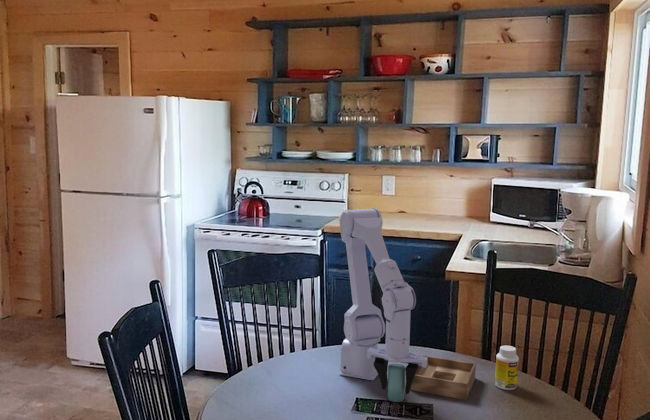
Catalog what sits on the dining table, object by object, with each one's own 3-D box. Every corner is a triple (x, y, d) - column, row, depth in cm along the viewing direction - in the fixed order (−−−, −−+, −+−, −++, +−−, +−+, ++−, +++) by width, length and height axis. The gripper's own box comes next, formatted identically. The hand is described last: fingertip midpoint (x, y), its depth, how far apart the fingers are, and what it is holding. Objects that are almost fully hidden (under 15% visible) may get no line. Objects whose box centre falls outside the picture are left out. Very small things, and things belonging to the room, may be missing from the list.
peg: (385, 400, 143) (386, 368, 142) (390, 393, 147) (391, 362, 146) (401, 403, 142) (402, 371, 140) (405, 396, 145) (406, 365, 144)
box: (410, 389, 149) (410, 374, 148) (422, 369, 162) (423, 355, 161) (466, 399, 144) (467, 384, 143) (475, 378, 156) (475, 363, 156)
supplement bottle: (507, 392, 148) (509, 353, 146) (489, 384, 152) (491, 346, 151) (521, 387, 151) (524, 349, 150) (504, 380, 155) (506, 342, 154)
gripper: (363, 337, 141) (362, 391, 143) (423, 346, 136) (421, 402, 137) (372, 328, 148) (371, 380, 149) (430, 336, 142) (428, 390, 144)
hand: (396, 390), depth 144 cm, fingers open, 5 cm apart
